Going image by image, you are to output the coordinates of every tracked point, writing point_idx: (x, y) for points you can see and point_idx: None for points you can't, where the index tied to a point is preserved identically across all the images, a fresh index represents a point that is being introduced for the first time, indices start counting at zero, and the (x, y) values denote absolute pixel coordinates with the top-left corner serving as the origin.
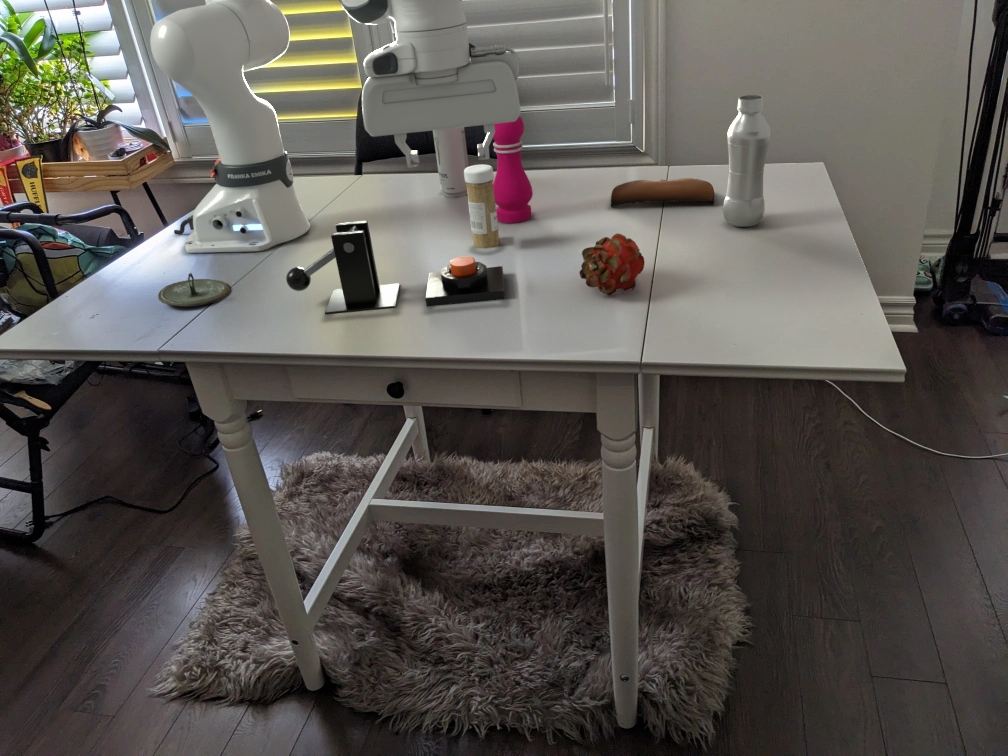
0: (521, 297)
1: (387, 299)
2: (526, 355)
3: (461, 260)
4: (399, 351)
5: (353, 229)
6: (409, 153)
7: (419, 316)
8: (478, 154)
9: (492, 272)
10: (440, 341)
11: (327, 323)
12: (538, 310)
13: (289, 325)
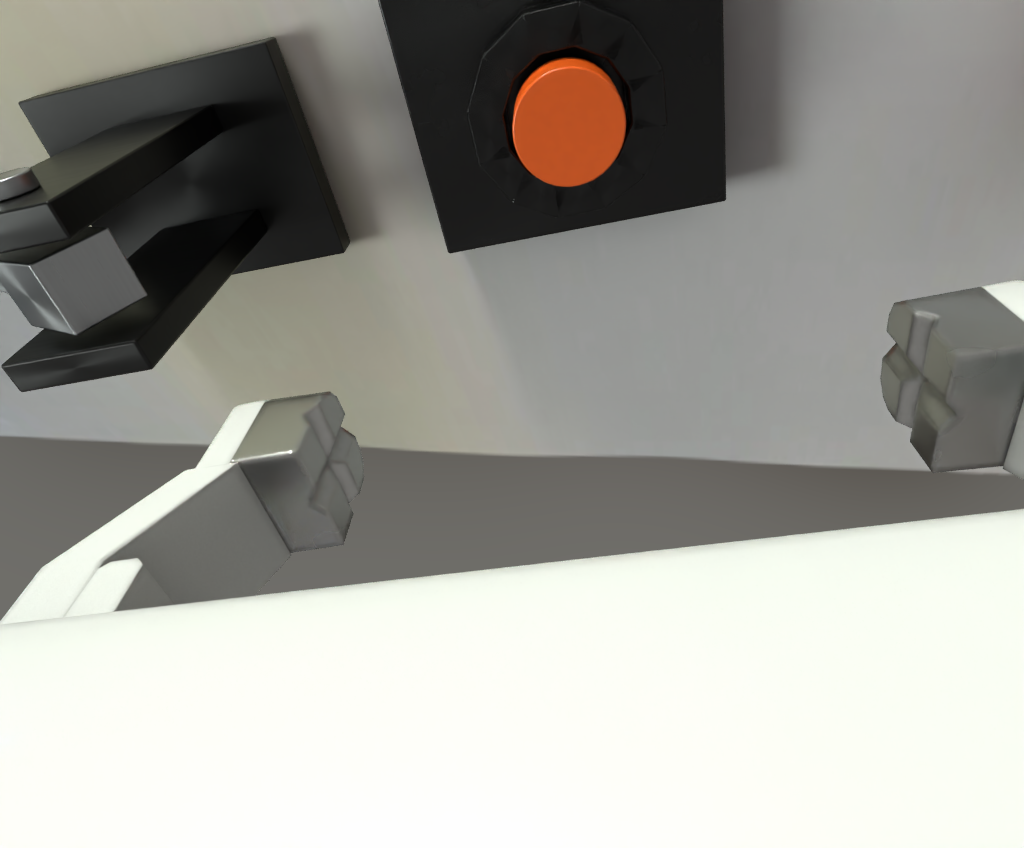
0: (775, 114)
1: (292, 200)
2: (764, 454)
3: (563, 123)
4: (452, 438)
5: (67, 319)
6: (283, 563)
7: (436, 259)
8: (905, 394)
9: (675, 3)
10: (543, 397)
11: None
12: (825, 223)
13: None
